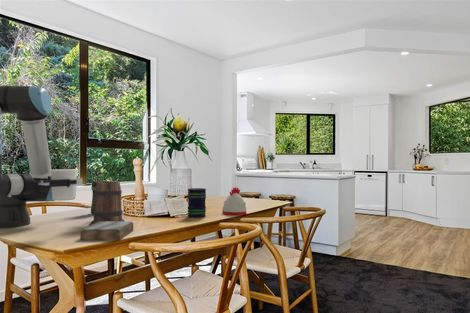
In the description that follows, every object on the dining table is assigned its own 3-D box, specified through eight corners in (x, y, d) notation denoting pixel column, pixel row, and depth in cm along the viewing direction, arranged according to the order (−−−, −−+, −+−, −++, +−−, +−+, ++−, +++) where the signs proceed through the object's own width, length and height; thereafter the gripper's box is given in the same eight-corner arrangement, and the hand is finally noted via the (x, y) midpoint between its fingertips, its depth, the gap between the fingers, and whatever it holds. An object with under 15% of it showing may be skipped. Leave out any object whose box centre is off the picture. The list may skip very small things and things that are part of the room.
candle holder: (66, 201, 136) (66, 170, 136) (44, 200, 138) (44, 169, 138) (82, 198, 145) (82, 169, 145) (61, 197, 147) (61, 169, 147)
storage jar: (184, 217, 187) (184, 189, 187) (191, 214, 196) (191, 188, 197) (202, 218, 184) (202, 189, 185) (208, 215, 194) (208, 188, 194)
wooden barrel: (94, 215, 192) (94, 181, 192) (89, 213, 197) (89, 180, 198) (111, 213, 198) (112, 180, 198) (105, 212, 204) (106, 180, 204)
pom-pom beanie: (251, 213, 204) (251, 187, 204) (235, 216, 194) (235, 188, 194) (234, 210, 213) (234, 186, 213) (217, 213, 203) (217, 187, 203)
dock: (80, 239, 133) (80, 229, 133) (98, 230, 151) (98, 221, 151) (120, 240, 133) (120, 229, 133) (133, 230, 151) (133, 221, 151)
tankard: (132, 225, 164) (133, 182, 164) (96, 229, 152) (96, 183, 153) (112, 218, 181) (113, 180, 181) (78, 222, 170) (79, 181, 170)
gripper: (1, 193, 131) (57, 188, 151) (36, 196, 121) (91, 191, 140) (1, 172, 131) (57, 171, 151) (36, 174, 121) (91, 172, 140)
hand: (74, 180), depth 146 cm, fingers closed on candle holder, 9 cm apart
